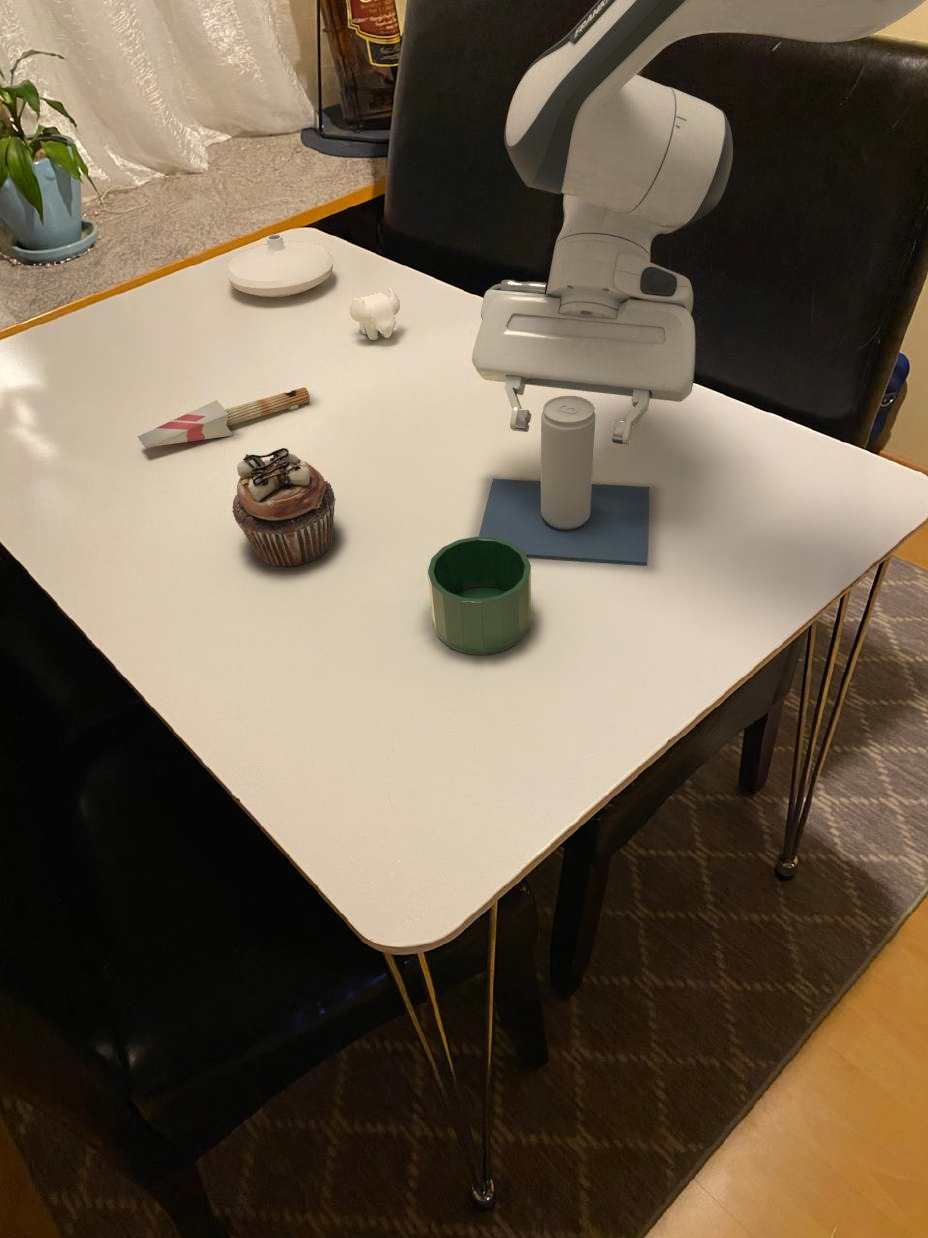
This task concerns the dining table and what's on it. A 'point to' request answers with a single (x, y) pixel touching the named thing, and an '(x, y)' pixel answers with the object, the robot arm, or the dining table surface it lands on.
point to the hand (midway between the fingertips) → (568, 436)
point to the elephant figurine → (376, 313)
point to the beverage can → (567, 461)
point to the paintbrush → (219, 419)
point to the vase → (279, 268)
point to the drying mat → (602, 538)
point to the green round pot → (480, 594)
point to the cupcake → (284, 508)
